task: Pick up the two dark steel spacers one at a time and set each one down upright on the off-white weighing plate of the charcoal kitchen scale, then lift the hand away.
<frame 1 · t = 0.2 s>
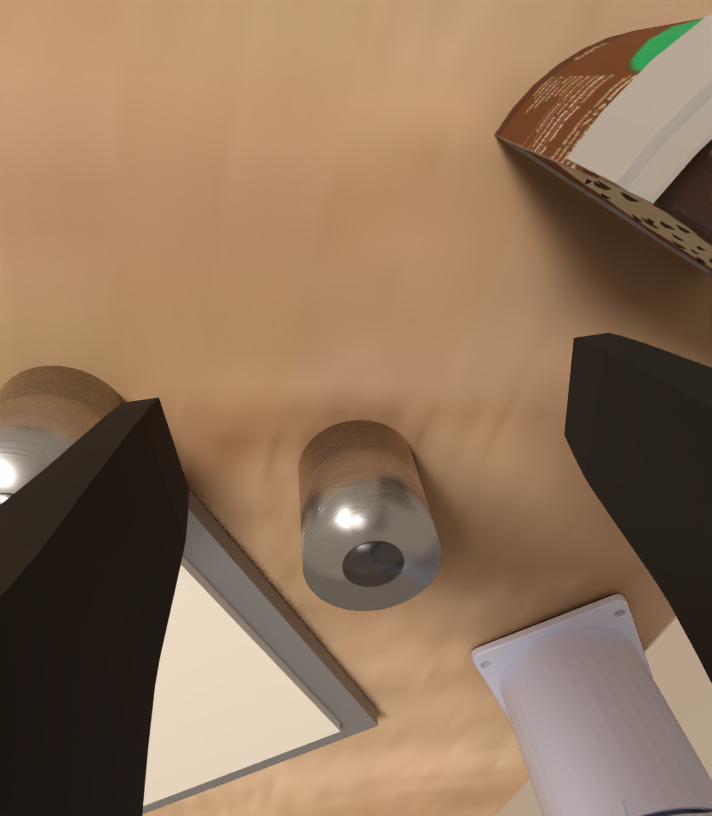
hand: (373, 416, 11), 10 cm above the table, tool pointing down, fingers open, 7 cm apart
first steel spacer: (356, 468, 24), on the table
kitchen scale: (128, 681, 29), on the table
food container: (674, 116, 18), on the table
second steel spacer: (65, 422, 21), on the table
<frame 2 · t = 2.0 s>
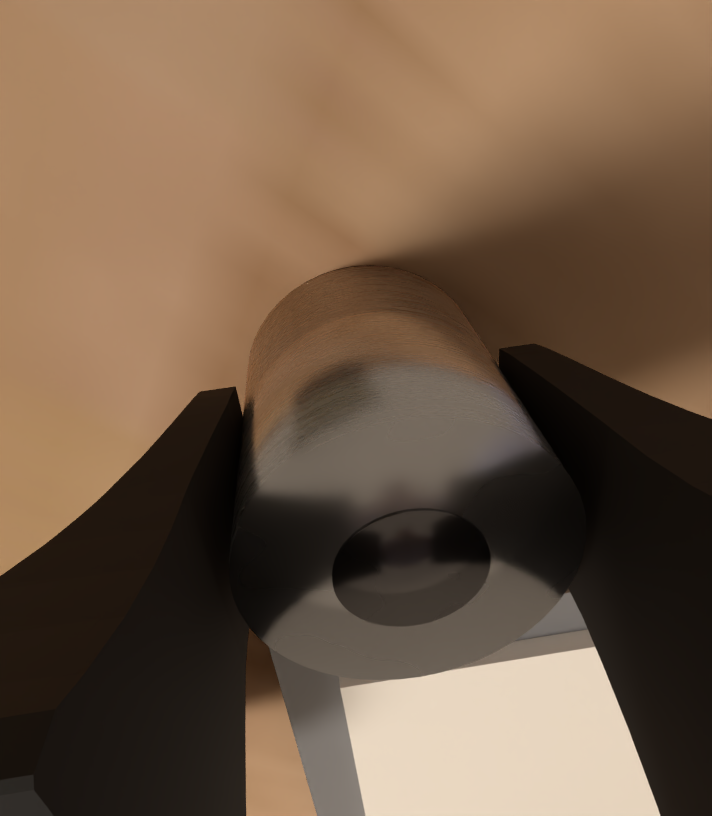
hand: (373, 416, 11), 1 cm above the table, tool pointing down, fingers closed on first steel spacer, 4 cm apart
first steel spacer: (364, 377, 12), on the table, touching gripper
kitchen scale: (586, 744, 20), on the table
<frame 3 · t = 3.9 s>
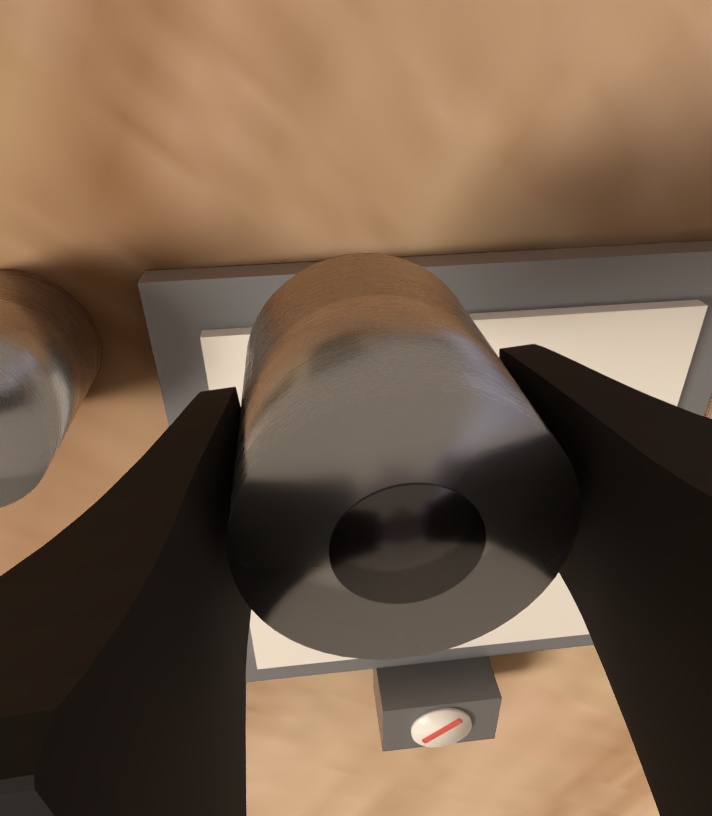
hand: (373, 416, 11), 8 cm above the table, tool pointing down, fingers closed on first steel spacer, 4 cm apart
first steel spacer: (361, 365, 12), point 7 cm above the table, touching gripper
kitchen scale: (437, 489, 23), on the table
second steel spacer: (21, 342, 18), on the table
when the fingers open (4 cm above the table, at t = 6.0 s): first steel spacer stays where it is, resting on kitchen scale.
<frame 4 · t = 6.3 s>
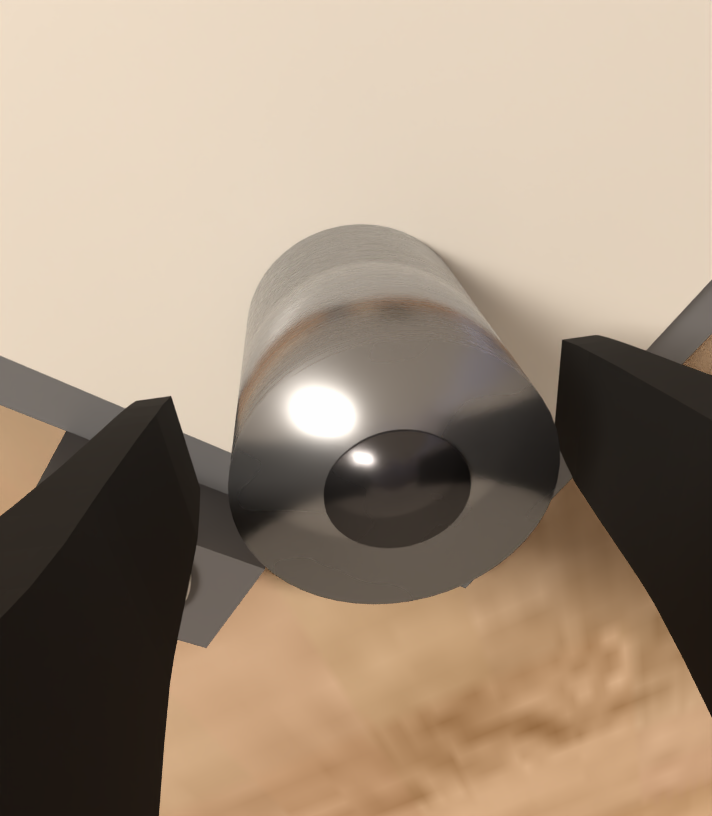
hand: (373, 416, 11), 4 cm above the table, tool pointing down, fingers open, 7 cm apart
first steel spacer: (357, 334, 12), point 2 cm above the table, touching kitchen scale
kitchen scale: (375, 111, 12), on the table
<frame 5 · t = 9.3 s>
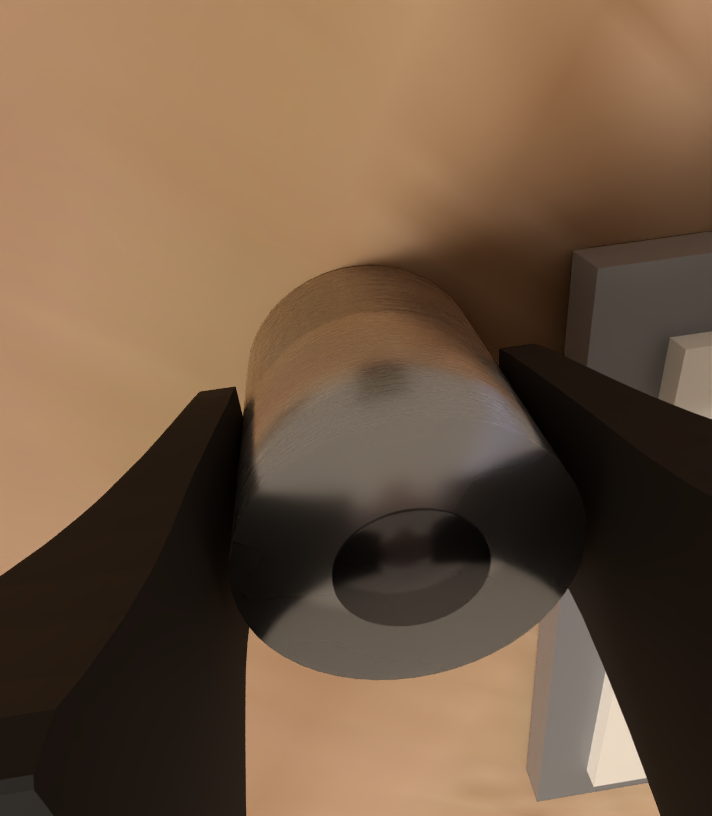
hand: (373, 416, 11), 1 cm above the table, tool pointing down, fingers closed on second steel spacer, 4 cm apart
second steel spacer: (364, 377, 12), on the table, touching gripper
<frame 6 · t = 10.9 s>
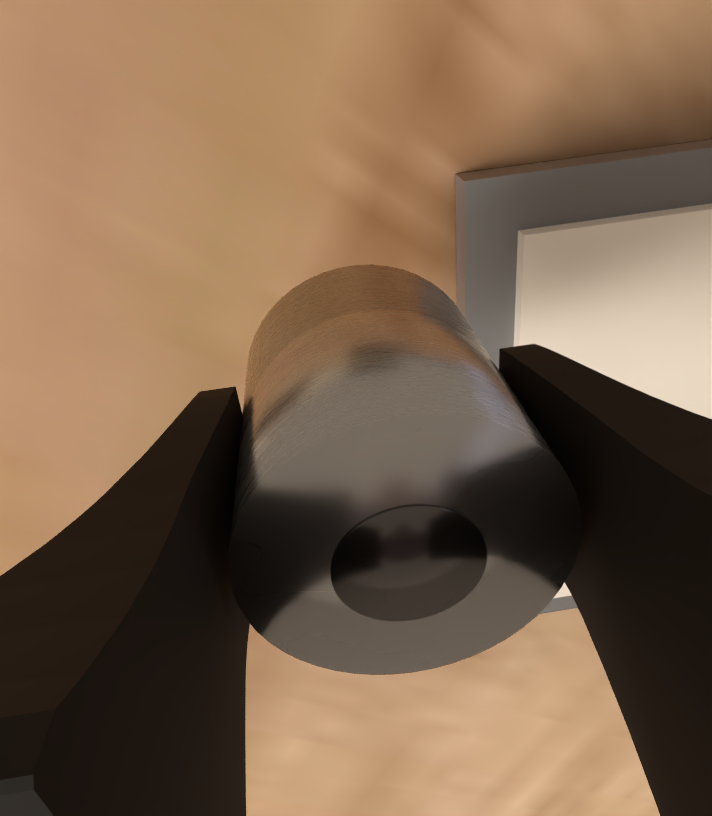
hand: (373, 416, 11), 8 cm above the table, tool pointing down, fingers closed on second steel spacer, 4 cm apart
kitchen scale: (704, 401, 22), on the table
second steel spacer: (362, 376, 12), point 7 cm above the table, touching gripper
when the fingers open (4 cm above the table, at t = 12.9 s): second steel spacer stays where it is, resting on kitchen scale.
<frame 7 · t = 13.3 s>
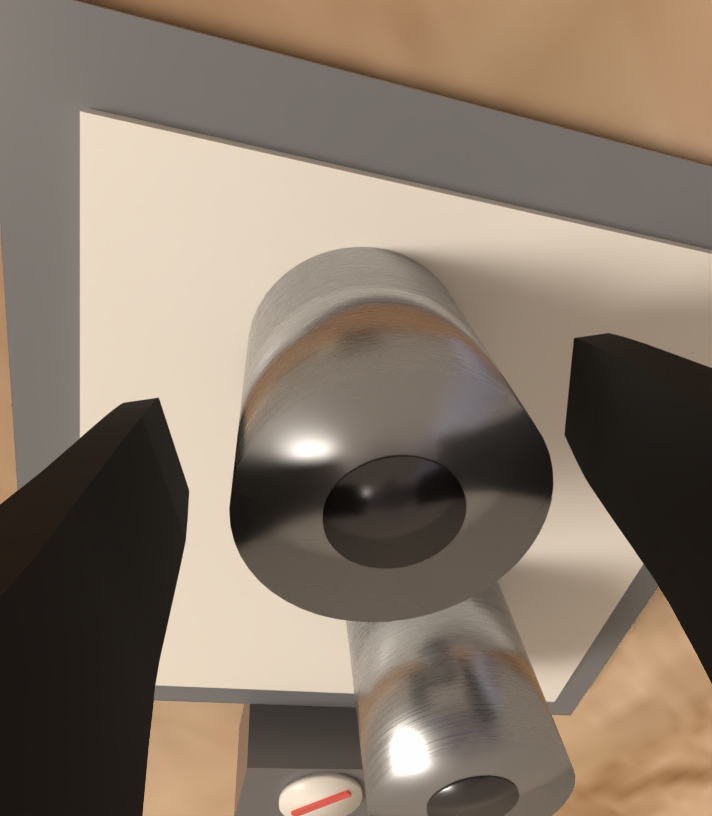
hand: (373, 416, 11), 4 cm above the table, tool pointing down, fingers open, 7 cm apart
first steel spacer: (424, 612, 17), point 2 cm above the table, touching kitchen scale
kitchen scale: (390, 472, 16), on the table
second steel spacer: (356, 353, 13), point 2 cm above the table, touching kitchen scale
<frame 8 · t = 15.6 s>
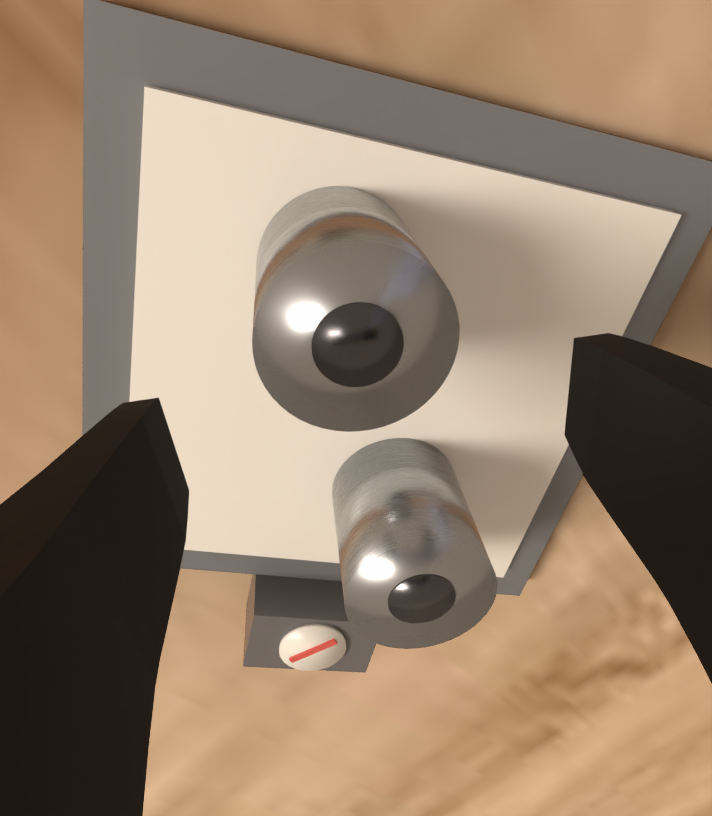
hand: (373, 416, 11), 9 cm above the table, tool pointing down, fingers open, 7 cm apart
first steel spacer: (393, 489, 22), point 2 cm above the table, touching kitchen scale
kitchen scale: (366, 375, 21), on the table
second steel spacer: (336, 268, 17), point 2 cm above the table, touching kitchen scale
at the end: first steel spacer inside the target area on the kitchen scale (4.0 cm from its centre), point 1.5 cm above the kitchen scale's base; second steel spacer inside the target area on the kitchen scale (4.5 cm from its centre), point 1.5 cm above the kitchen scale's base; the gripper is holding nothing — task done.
